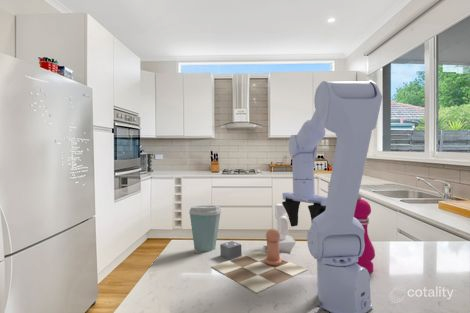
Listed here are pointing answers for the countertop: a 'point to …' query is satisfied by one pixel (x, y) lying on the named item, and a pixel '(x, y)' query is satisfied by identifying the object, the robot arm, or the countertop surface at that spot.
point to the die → (230, 250)
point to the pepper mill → (362, 216)
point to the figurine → (283, 229)
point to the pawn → (273, 248)
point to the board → (258, 271)
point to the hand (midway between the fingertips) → (304, 228)
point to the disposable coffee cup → (204, 226)
